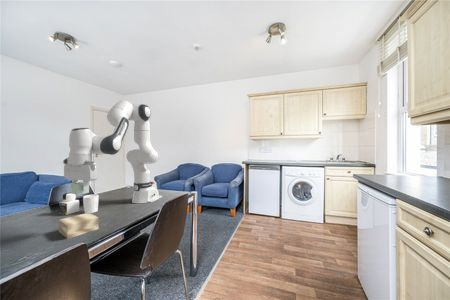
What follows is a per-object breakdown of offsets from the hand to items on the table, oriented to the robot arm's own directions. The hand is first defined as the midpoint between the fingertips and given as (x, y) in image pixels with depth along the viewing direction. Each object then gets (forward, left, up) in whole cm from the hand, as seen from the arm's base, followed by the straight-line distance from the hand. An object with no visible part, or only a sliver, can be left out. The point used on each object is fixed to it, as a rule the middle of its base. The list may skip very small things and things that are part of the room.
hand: (80, 188), depth 89 cm
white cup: (-18, -22, -20) cm, 35 cm away
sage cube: (0, 0, -2) cm, 2 cm away
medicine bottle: (-12, -33, -20) cm, 40 cm away
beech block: (+1, 0, -20) cm, 20 cm away
